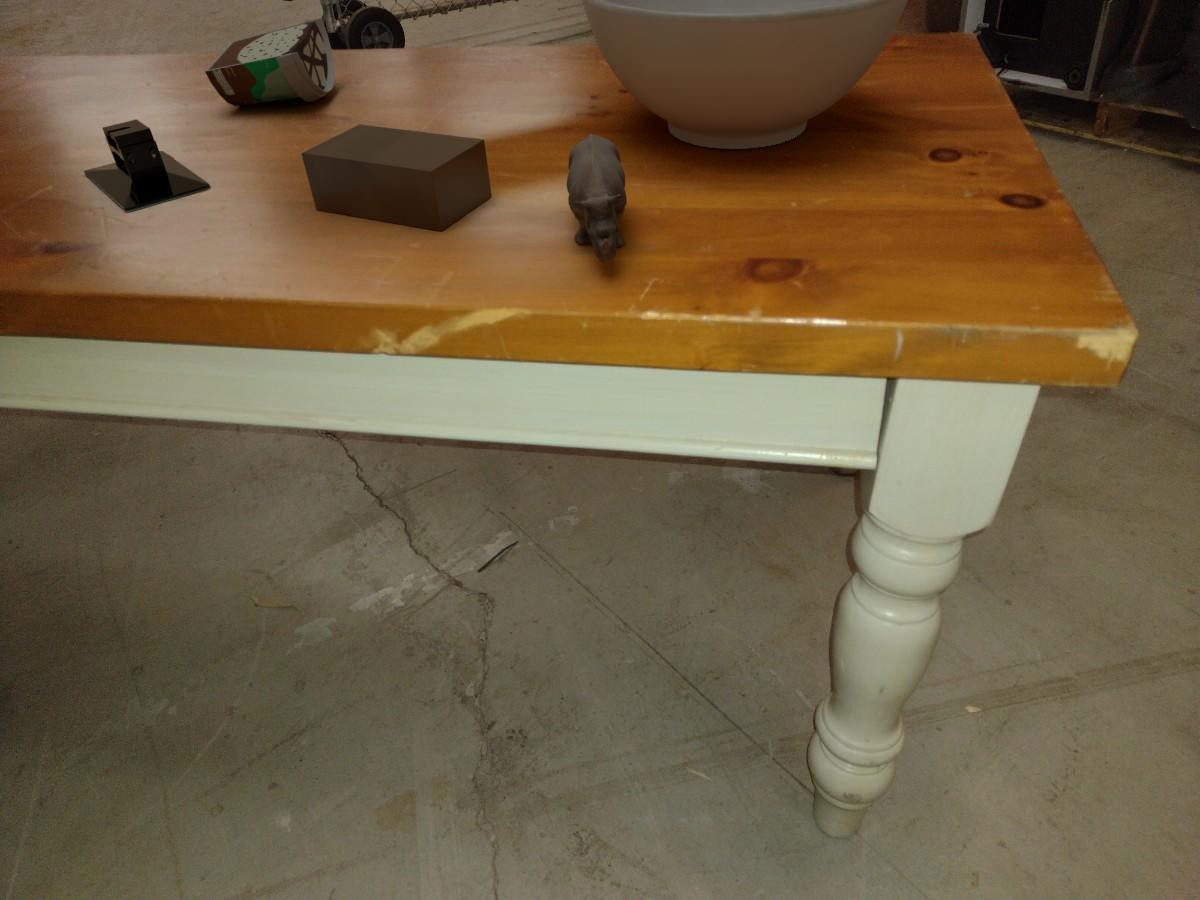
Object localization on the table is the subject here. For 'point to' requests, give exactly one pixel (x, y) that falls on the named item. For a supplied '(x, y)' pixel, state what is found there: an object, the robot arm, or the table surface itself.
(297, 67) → the food container
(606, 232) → the rhino figurine
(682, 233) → the table surface
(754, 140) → the decorative bowl
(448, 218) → the walnut block
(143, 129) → the build plate
